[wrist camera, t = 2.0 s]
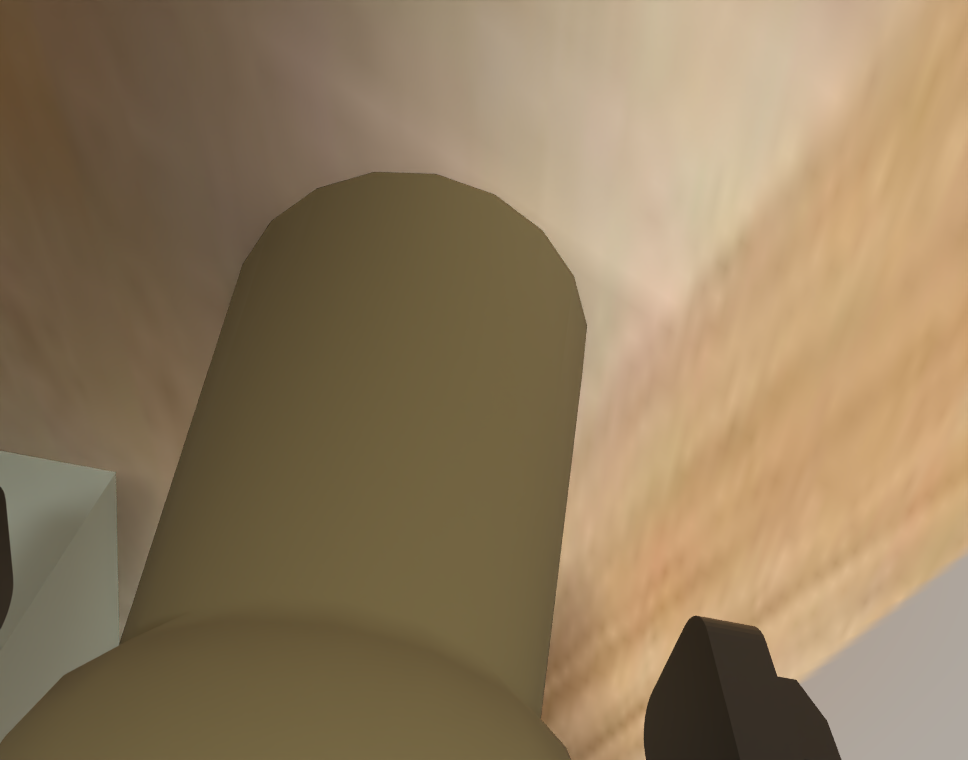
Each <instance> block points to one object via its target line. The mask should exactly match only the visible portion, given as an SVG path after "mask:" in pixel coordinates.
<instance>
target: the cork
mask: <svg viewBox="0 0 968 760" xmlns="http://www.w3.org/2000/svg"><path fill="white" fill-rule="evenodd" d="M586 331H587V324H586V320H585V316H584V313H583V309H582V305H581V301H580V298H579V294H578V290H577V286H576V282H575V279H574V276H573V274H572V273H571V271H570V270H569V268H568V267H567V266H566V264H565V263H564V261H563V260H562V258H561V257H560V255H559V254H558V252H557V251H556V250H555V248H554V247H553V245H552V244H551V242H550V241H549V239H548V238H547V237H546V235H545V234H544V232H543V231H542V230H541V229H540V228H538V227H537V226H536V225H534V224H533V223H532V222H530V221H529V220H528V219H526V218H525V217H524V216H522V215H521V214H520V213H518V212H517V211H516V210H514V209H513V208H512V207H510V206H509V205H508V204H506V203H505V202H504V201H502V200H501V199H500V198H498V197H497V196H496V195H494V194H491V193H488V192H485V191H483V190H480V189H477V188H474V187H471V186H468V185H466V184H463V183H460V182H457V181H454V180H451V179H449V178H446V177H443V176H440V175H437V174H415V173H387V172H373V173H369V174H366V175H362V176H359V177H356V178H352V179H349V180H345V181H342V182H338V183H335V184H331V185H328V186H324V187H321V188H317V189H316V190H314V191H313V192H312V193H310V194H309V195H307V196H306V197H305V198H303V199H302V200H300V201H299V202H298V203H296V204H295V205H293V206H292V207H290V208H289V209H288V210H286V211H285V212H283V213H282V214H281V215H279V216H278V217H276V218H275V219H274V220H272V221H271V223H270V224H269V226H268V227H267V229H266V230H265V232H264V233H263V235H262V236H261V238H260V239H259V241H258V242H257V244H256V245H255V247H254V248H253V250H252V251H251V253H250V254H249V256H248V257H247V259H246V260H245V262H244V263H243V265H242V268H241V271H240V274H239V277H238V280H237V284H236V287H235V290H234V293H233V296H232V299H231V302H230V305H229V308H228V311H227V314H226V317H225V320H224V324H223V327H222V330H221V333H220V336H219V339H218V342H217V345H216V348H215V351H214V354H213V357H212V360H211V364H210V367H209V370H208V373H207V376H206V379H205V382H204V385H203V388H202V391H201V394H200V397H199V400H198V404H197V407H196V410H195V413H194V416H193V419H192V422H191V425H190V428H189V431H188V434H187V437H186V441H185V444H184V447H183V450H182V453H181V456H180V459H179V462H178V465H177V468H176V471H175V474H174V477H173V481H172V484H171V487H170V490H169V493H168V496H167V499H166V502H165V505H164V508H163V511H162V514H161V517H160V521H159V524H158V527H157V530H156V533H155V536H154V539H153V542H152V545H151V548H150V551H149V554H148V557H147V561H146V564H145V567H144V570H143V573H142V576H141V579H140V582H139V585H138V588H137V591H136V594H135V598H134V601H133V604H132V607H131V610H130V613H129V616H128V619H127V622H126V625H125V628H124V631H123V634H122V638H121V641H120V644H119V646H117V647H115V648H113V649H112V650H110V651H108V652H106V653H104V654H102V655H100V656H99V657H97V658H95V659H93V660H91V661H89V662H87V663H85V664H84V665H82V666H80V667H78V668H76V669H74V670H72V671H70V672H69V673H67V674H65V675H63V676H62V677H61V678H60V680H59V681H58V682H57V683H56V684H55V685H54V686H53V687H52V688H51V689H50V690H49V691H48V692H47V693H46V694H45V695H44V696H43V697H42V698H41V699H40V700H39V701H38V702H37V704H36V705H35V706H34V707H33V708H32V709H31V710H30V711H29V712H28V713H27V714H26V715H25V716H24V717H23V718H22V719H21V720H20V721H19V722H18V723H17V724H16V725H15V726H14V728H13V729H12V730H11V731H10V732H9V733H8V734H7V735H6V736H5V737H4V739H3V740H2V741H1V743H0V760H571V758H570V756H569V753H568V751H567V748H566V747H565V746H564V745H563V743H562V742H561V741H560V740H559V739H558V738H557V737H556V736H555V735H554V733H553V732H552V731H551V730H550V729H549V728H548V727H547V726H546V725H545V724H544V722H543V721H542V720H541V712H542V704H543V696H544V687H545V679H546V671H547V662H548V654H549V646H550V637H551V629H552V621H553V612H554V604H555V596H556V587H557V579H558V571H559V562H560V554H561V546H562V537H563V529H564V521H565V512H566V504H567V496H568V487H569V479H570V471H571V463H572V454H573V446H574V438H575V429H576V421H577V413H578V404H579V396H580V388H581V379H582V370H583V360H584V351H585V341H586Z"/></svg>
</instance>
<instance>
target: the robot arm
mask: <svg viewBox="0 0 968 760" xmlns="http://www.w3.org/2000/svg"><path fill="white" fill-rule="evenodd" d="M13 584H14V583H13V569H12V559H11V549H10V538H9V528H8V517H7V507H6V498H5V494H4V491H3V489H2V488H1V487H0V629H1V627H2V625H3V623H4V621H5V618H6V616H7V613H8V610H9V607H10V603H11V599H12V594H13ZM644 748H645V756H646V760H841V758H840V755H839V753H838V749H837V747H836V744H835V741H834V738H833V736H832V733H831V730H830V728H829V725H828V722H827V720H826V719H825V718H824V716H823V715H822V714H821V712H820V711H819V710H818V708H817V707H816V706H815V704H814V703H813V702H812V700H811V699H810V698H809V696H808V695H807V694H806V692H805V691H804V690H803V688H802V687H801V686H800V684H799V683H798V682H797V680H794V679H788V678H783V677H777V674H776V671H775V668H774V665H773V662H772V659H771V656H770V653H769V650H768V647H767V644H766V641H765V638H764V636H763V634H762V632H761V631H760V630H759V629H758V628H757V627H755V626H749V625H744V624H739V623H733V622H728V621H722V620H717V619H711V618H706V617H700V616H693V617H691V618H690V619H689V620H688V622H687V623H686V625H685V627H684V628H683V631H682V633H681V635H680V637H679V639H678V641H677V643H676V645H675V647H674V649H673V651H672V653H671V655H670V657H669V659H668V661H667V663H666V665H665V667H664V669H663V671H662V673H661V675H660V677H659V679H658V681H657V683H656V685H655V687H654V689H653V691H652V694H651V696H650V699H649V702H648V706H647V710H646V715H645V723H644Z"/></svg>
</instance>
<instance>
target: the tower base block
mask: <svg viewBox="0 0 968 760" xmlns="http://www.w3.org/2000/svg"><path fill="white" fill-rule="evenodd" d="M0 487H1V488H2V489H3V491H4V494H5V498H6V507H7V517H8V528H9V538H10V549H11V559H12V569H13V583H14V584H13V594H12V599H11V603H10V607H9V610H8V613H7V616H6V618H5V621H4V623H3V625H2V627H1V629H0V743H1V741H2V740H3V739H4V737H5V736H6V735H7V734H8V733H9V732H10V731H11V730H12V729H13V728H14V726H15V725H16V724H17V723H18V722H19V721H20V720H21V719H22V718H23V717H24V716H25V715H26V714H27V713H28V712H29V711H30V710H31V709H32V708H33V707H34V706H35V705H36V704H37V702H38V701H39V700H40V699H41V698H42V697H43V696H44V695H45V694H46V693H47V692H48V691H49V690H50V689H51V688H52V687H53V686H54V685H55V684H56V683H57V682H58V681H59V680H60V678H61V677H62V676H63V675H65V674H67V673H69V672H70V671H72V670H74V669H76V668H78V667H80V666H82V665H84V664H85V663H87V662H89V661H91V660H93V659H95V658H97V657H99V656H100V655H102V654H104V653H106V652H108V651H110V650H112V649H113V648H115V647H117V646H119V600H118V550H117V501H116V472H112V471H107V470H102V469H96V468H91V467H86V466H80V465H75V464H69V463H64V462H59V461H53V460H48V459H43V458H37V457H32V456H26V455H21V454H16V453H10V452H5V451H0Z"/></svg>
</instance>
